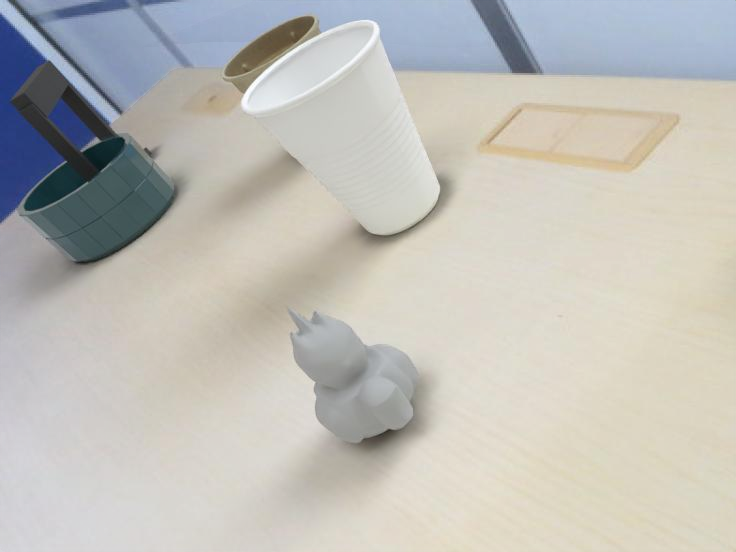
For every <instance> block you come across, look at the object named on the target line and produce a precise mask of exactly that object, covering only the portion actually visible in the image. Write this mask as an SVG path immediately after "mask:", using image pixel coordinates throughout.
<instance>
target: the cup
mask: <svg viewBox="0 0 736 552" xmlns="http://www.w3.org/2000/svg"><path fill="white" fill-rule="evenodd" d="M380 35H381V28H380V26H379V23H377V22H375V21H374V20H370V19H361V20H353V21H349V22H346V23H344V24H340V25H338V26H335V27H332V28H330V29H328V30H326V31H324V32H321V34H320V35H318V36H316V37H314V38H312V39H310V40H308V41H306V42H305V43H303V44H301V45H300V46H298V47H296V48H295V49H293V50H292V51H290V52H289V53H287V54H286V55H284V56H283V57H282V58H280V59H279V60H278V61H276V62H275V63H274V64H272V65H271V66H270V67H269V68H268V69H266V70H265V71H264V72H263V73H262V74H261V75H260V76H259V77H258V78H257V79H256V80H255V81H254V82H253V83H252V84H251V85H250V86H249V88H248V89H247V91H246V92H245V94H244V93H243V96H242V98H241V100H240V109H241V110H242V112H243V114H245V115H247V116H249V117H252V118H253V119H254V120H255V121H256V122H257V123H258V124H259V125H260V126H261V127H262V128H263V129H265V131H266V132H267V133H268V134H269V135H270V136H271V137H272V138H273V139H274V140H275V141H276V142H277V143H278V144H279V145H280V146H281V147H282V148H284V150H286V152H287V153H289V154H290V155H291V157H292V158H294V159H296V160H297V162H298V164H301V166H303V168H304V169H305V170H306V171H308V173H309V174H310V175H311V176H313V178H314V179H315V181H318V182H319V183H320V185H321V186H322V187H323V188H325V190H326V192H329V194H331V196H332V197H333V198H335V199H336V201H337V202H338V203H340V204H341V206H342V207H343V208H344V209H346V210H347V212H348V213H349V214H350V215H351V216H352V217H353V218H354V219H355V220H356V221H357V222H358V223H359V224H360V225H361V226H362V227H363V229H365V230H366V231H367V232H368V233H370V234H374V235H379V236H392V235H395V234H399V233H401V232H405V231H406V230H408V229H410V228H411V227H413V226H415V225H416V224H418V223H419V222H421V221H422V220H423V219H425V218H426V217H427V216H428V215H429V213H431V212H432V211H433V209H434V208H435V207H436V205H437V203H438V199H439V195H440V193H441V185H440V183H439V181H438V177H437V175H436V173H435V171H434V168H433V166H432V163H431V161H430V158H429V156H428V153H427V151H426V149H425V146H424V144H423V142H422V138H421V137H420V135H419V134H420V133H419V131H418V129H417V126H416V123H415V122H414V118H413V117H412V114H411V111H410V108H409V107H408V104H407V102H406V100H405V97H404V94H403V93H402V89H401V86H400V84H399V82H398V79H397V77H396V73H395V72H394V69H393V67H392V65H391V64H392V63H391V62H390V59H389V57H388V55H387V51H386V49H385V47H384V44H383V42H382V39H381V36H380Z"/></svg>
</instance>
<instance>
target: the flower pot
mask: <svg viewBox="0 0 736 552" xmlns="http://www.w3.org/2000/svg"><path fill="white" fill-rule="evenodd" d="M319 26H320V19H319V17H318V15H317V14H314V13H306V14H301V15H298V16H295V17H292V18H289V19H287V20H285V21H283V22H281V23H279V24H277V25H275V26H273V27H271V28H270V29H267V30H266V31H264V32H263V33H261V34H260V35H258V36H256V37H255V38H253V39H252V40H251V41H250V42H248V43H247V44H245V45H244V46H243V47H241V48H240V49H238V51H236V53H235V54H233V56H232V57H230V58H229V60H228V61H227V62H226V63H225V65H224V66H223V67H222V70H221V72H220V77H221V79H223V81H225V82H227V83H232V85H233V86H234V87H235V88H236V89H237V90H238V91H239V92H240V93H241V94H243V95H244V94H245V92H246V91H247V89H248V88H249V86H250V85H251V84H252V83H253V82H254V81H255V80H256V79H257V78H258V77H259V76H260V75H261V74H262V73H263V72H264V71H265V70H266V69H268V68H269V67H270V66H271V65H272V64H274V63H275V62H276V61H278V60H279V59H280V58H282V57H283V56H284V55H286V54H287V53H289V52H290V51H292V50H293V49H295V48H296V47H298V46H300V45H301V44H303V43H305V42H306V41H308V40H310V39H312V38H314V37H316V36H318V35H320V34H321V33H322V32H321V29H320V27H319Z"/></svg>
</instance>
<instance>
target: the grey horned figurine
mask: <svg viewBox="0 0 736 552" xmlns="http://www.w3.org/2000/svg"><path fill="white" fill-rule="evenodd" d="M285 307H286V310H287V312H288V314H289V317H290V318H291V319H292V322H293V323H294V324H295V326H296V328H297V329H298V330H297V331H295V332H293V331H290V333H289V337H290V341H291V342H290V343H291V345H292V351H293V352H292V354H293V359H294V362H295V363H296V365H297V366H298V367H299V369H300V370H302V372H303V373H304V374H305V375H306V376H307V377H308V378H309V379H310V380H312V381H313V382H314V385H313V393H314V395H315V401H314V413H315V417H316V419H317V421H318V423H320V425H321V426H323V427H324V428H325V429H326V430H327V431H329V432H330V433H331V434H333V435H334V436H335V437H337V438H338V439H339V440H341V441H343V442H345V443H348V444H359V443H361V442H362V441H363V440H364V439H371V438H373V437H375V436H378V435H380V434H383V433H385V432H386V431H388V430H393V431H397V430H400V429H403V428H404V427H405V426H406V425H407V424H408V423H409V422H410V421H412V419H413V417H414V407H413V406H412V404H411V401H412V398H413V395H414V389H415V388H417V387H418V385H419V383H420V376H419V371H418V369H417V367H416V366H415V365H414V362H413V361H412V360H411V358H410V356H409V355H408V354H407V353H406V352H404V351H402V350H400V349H399V348H397V347H395V346H392V345H390V344H386V343H385V344H384V343H379V344H373V345H368V344H364V342H363V341H362V339H361V338H360V337H359V335H358V334H357V333H356V332H355V330H354V329H353V328H352V327H351V326H350V325H349V324H348V323H346V321H344V320H340V319H338V318H335V317H332V316H330V315H329V316H328V315H327V314H325V313H323V312H320V311H318V310H313V311H312V316H311V317H310V318H309V319H307V318H306V317H305V316H303V315H302V314H301V313H299V312H298V311H296V310H294V309H292V308H291V307H289V306H288V305H287V306H285Z"/></svg>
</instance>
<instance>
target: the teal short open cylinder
mask: <svg viewBox="0 0 736 552" xmlns="http://www.w3.org/2000/svg"><path fill="white" fill-rule="evenodd" d="M80 151H81V152H82V153H83V154H84V155H85V156H86V157H87V158H88V159H89V161H90V162H91V163H92V164H93V165H94V166H95V167H96V168H97V169H98V170H99V171H100V172H99V173H98V174H97V175H96V176H94V177H93V178H92V179H91V180H89V181H88V182H87V181H86V180H85V179H84V178H83V177H82V176H81V175H80V174H79V173H78V172H77V171H76V170H75V169H74V168H73V167H72V166H71V165H70V164H69V163H68V162H67V161H66V160H65V161H63V162H62V163H60V164H59V165H57V166H56V167H55V168H54V169H53V170H51V171H50V172H48V173H47V174H46V175H45V176H44V177H43V178H42V179H40V180H39V182H37V183H36V184H35V185H34V186H33V187H32V188H31V189H30V190H29V191H28V192H27V194H26V195H25V196H24V197H23V198H22V200H21V201H20V203H19V205H18V208H17V210H16V211H17V214H18V216H19V217H20V218H21V219H22V220H24V222H26V223H27V224H28V225H29V226H30V227H31V228H33V229H34V230H35V231H36V232H37V233H38V234H39V235H40V236H42V237H43V239H45V240H46V241H47V242H49V243H50V245H52V246H53V247H54V248H55V249H56V250H57V251H59V253H61V254H62V255H63V256H64V257H65V258H66V259H67V260H69V261H71V262H77V263H78V262H83V263H89V262H94V261H97V260H100V259H104V258H105V257H107V256H110V255H112V254H114V253H117V251H120V250H121V249H123V248H124V247H126V246H127V245H129V244H131V243H132V242H134V241H135V240H136V239H138V238H139V237H140V236H142V234H144V233H145V232H146V231H148V230H150V228H151V227H152V226H153V225H154V224H155V223H156V222H158V220H159V219H160V218H161V217H162V216H163V215H164V214H165V212H167V210H168V209H169V207H170V206H171V204H172V202H173V199H174V195H175V193H174V191H175V182H174V181H173V180H172V179H171V178H170V177H169V176H168V175H167V173H165V171H164V170H163V169H162V168H161V167H160V166H159V165H158V164H157V162H155V160H154V159H153V158H152V156H151V157H150V156H149V155H148V154H147V153H146V152H145V150H144V148H143V147H142V145H140V144H139V142H137V140H136V139H135V138H134V137H133V136H132V135H131V134H129V133H128V132H120V133H119V132H118V133H116V134H115V135H112V136H109V137H106V138H104V139H102V140H97V141H96V142H94V143H92V144H90V145H88V146H87V147H85V148H83V149H82V150H80Z"/></svg>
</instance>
